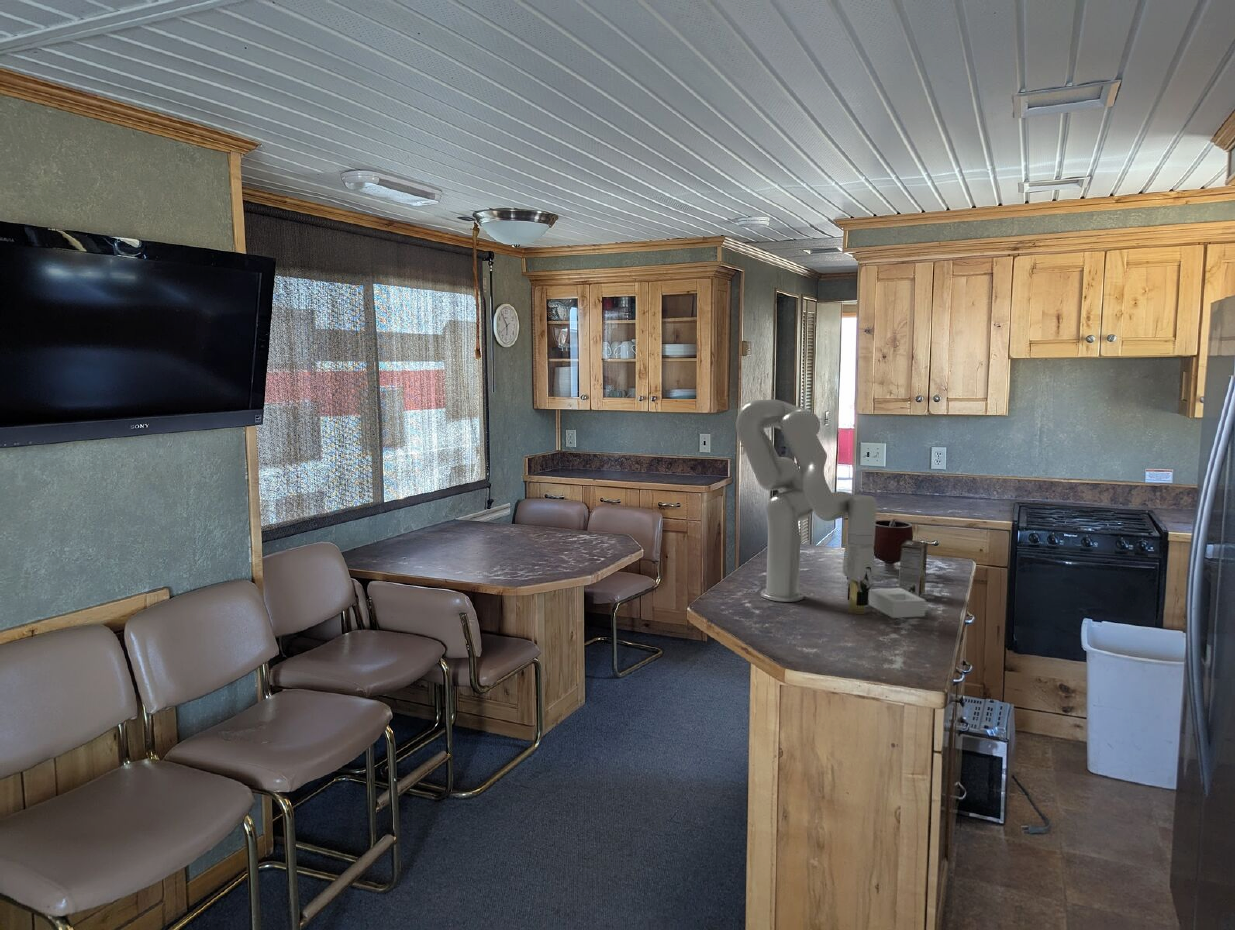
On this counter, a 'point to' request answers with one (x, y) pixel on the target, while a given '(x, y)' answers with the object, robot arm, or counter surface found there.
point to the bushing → (855, 598)
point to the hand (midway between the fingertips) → (857, 602)
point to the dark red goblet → (890, 545)
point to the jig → (897, 602)
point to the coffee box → (913, 567)
